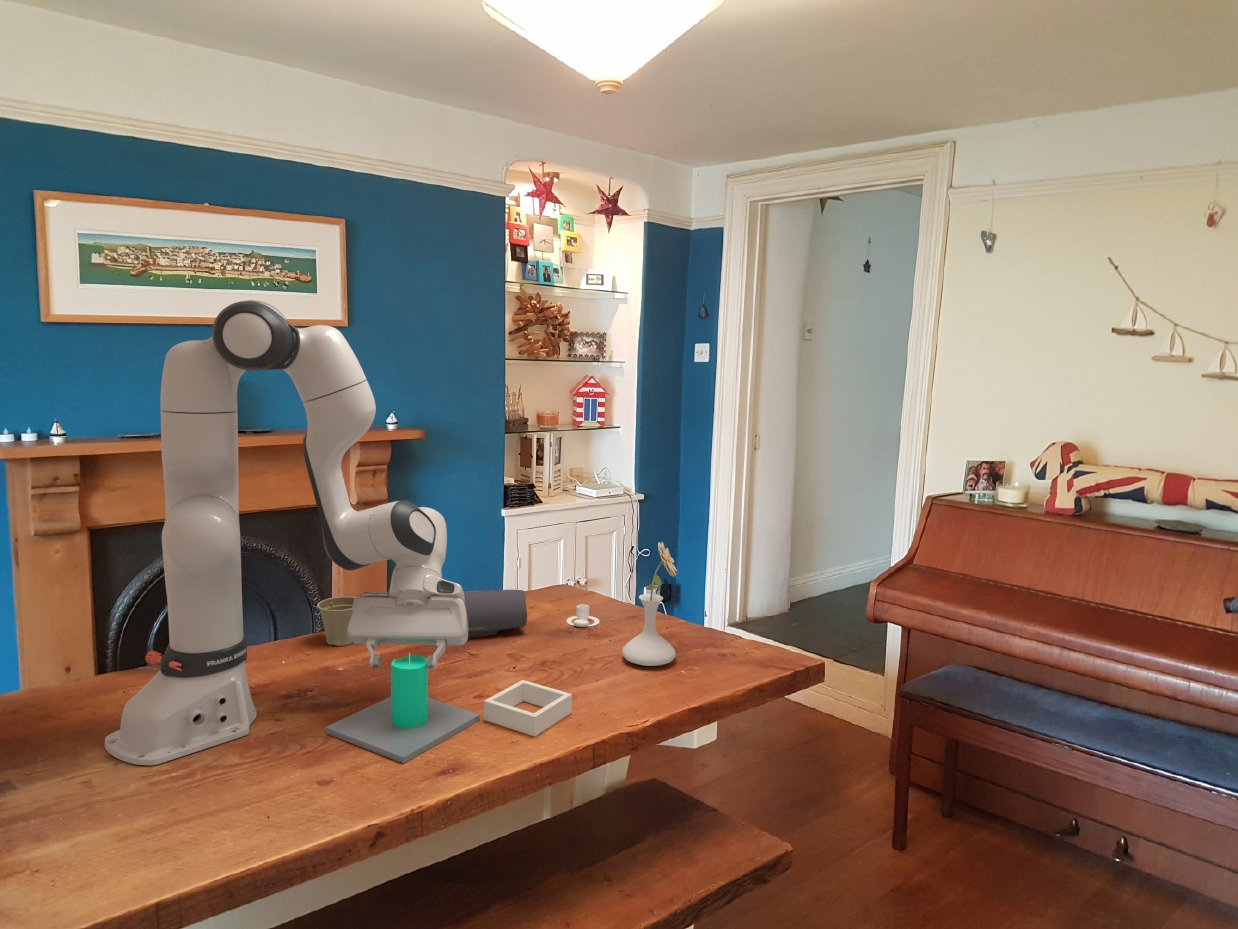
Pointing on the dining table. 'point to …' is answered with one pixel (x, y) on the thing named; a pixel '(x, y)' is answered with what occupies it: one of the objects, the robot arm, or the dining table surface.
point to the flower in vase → (652, 625)
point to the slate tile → (401, 729)
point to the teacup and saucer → (582, 617)
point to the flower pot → (336, 619)
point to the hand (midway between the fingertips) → (402, 667)
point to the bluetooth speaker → (494, 611)
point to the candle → (409, 691)
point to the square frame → (523, 721)
